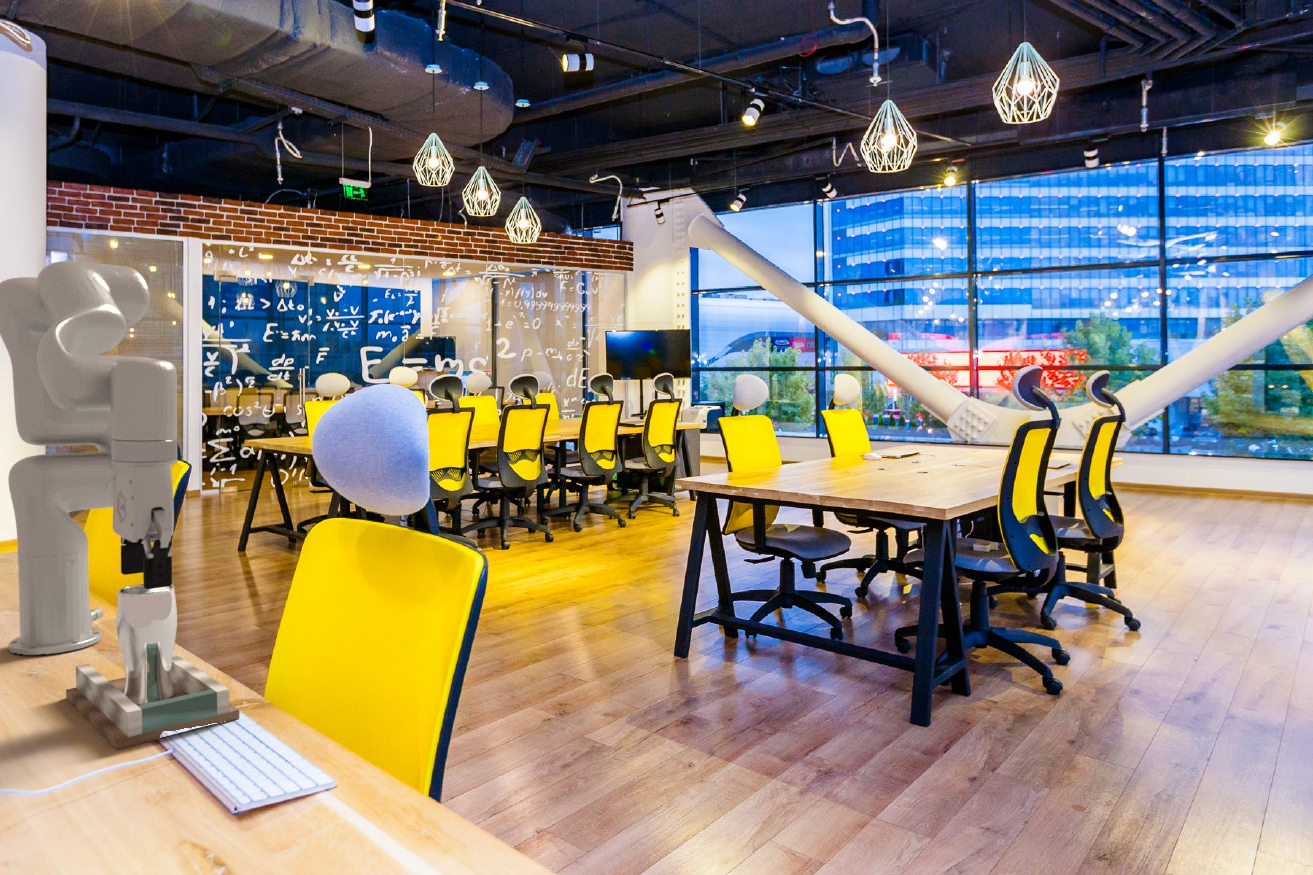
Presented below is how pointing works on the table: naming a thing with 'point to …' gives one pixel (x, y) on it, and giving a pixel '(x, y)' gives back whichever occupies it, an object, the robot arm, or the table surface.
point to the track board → (150, 705)
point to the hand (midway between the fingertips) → (145, 579)
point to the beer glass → (147, 641)
